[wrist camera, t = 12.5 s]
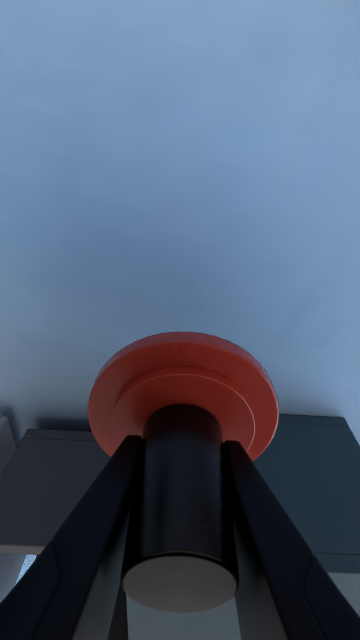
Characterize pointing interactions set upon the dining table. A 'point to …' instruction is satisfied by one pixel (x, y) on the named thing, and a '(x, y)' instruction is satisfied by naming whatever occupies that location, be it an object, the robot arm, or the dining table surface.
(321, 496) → the cabinet
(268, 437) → the lid
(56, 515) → the drawer
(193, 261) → the dining table surface
